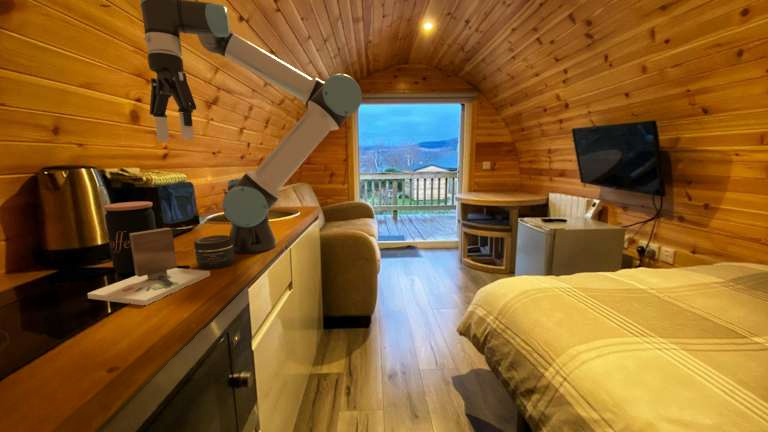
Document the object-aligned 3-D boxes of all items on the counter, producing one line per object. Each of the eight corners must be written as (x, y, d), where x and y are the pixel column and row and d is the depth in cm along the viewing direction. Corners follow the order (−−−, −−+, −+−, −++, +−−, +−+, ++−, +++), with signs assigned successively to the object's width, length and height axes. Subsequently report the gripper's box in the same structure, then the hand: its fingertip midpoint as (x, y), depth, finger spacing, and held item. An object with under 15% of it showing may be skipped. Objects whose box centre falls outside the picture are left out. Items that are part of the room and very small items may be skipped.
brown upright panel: (135, 279, 80) (128, 233, 78) (172, 270, 86) (167, 227, 84) (150, 291, 73) (143, 240, 71) (190, 280, 79) (184, 233, 77)
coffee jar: (104, 272, 90) (92, 206, 87) (142, 260, 100) (133, 200, 97) (133, 275, 87) (122, 207, 83) (169, 263, 97) (161, 202, 93)
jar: (237, 266, 93) (234, 240, 92) (196, 273, 88) (193, 245, 87) (233, 257, 102) (231, 233, 100) (196, 262, 97) (193, 237, 96)
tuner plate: (160, 270, 90) (160, 266, 90) (210, 275, 86) (209, 270, 86) (88, 298, 73) (87, 292, 73) (146, 305, 69) (145, 299, 69)
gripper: (128, 60, 89) (139, 141, 92) (172, 41, 75) (183, 138, 79) (159, 66, 95) (169, 142, 99) (205, 50, 81) (214, 139, 85)
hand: (175, 140), depth 89 cm, fingers open, 13 cm apart
